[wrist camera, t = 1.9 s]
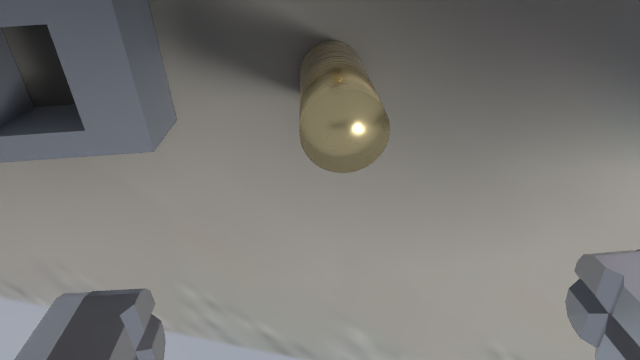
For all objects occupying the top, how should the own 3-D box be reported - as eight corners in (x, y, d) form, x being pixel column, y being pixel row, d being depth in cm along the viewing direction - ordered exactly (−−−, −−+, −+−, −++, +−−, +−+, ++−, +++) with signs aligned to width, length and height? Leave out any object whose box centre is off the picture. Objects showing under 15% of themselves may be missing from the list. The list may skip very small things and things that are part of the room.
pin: (361, 38, 21) (390, 85, 14) (362, 99, 23) (388, 169, 16) (298, 43, 21) (295, 92, 14) (302, 104, 23) (303, 175, 16)
